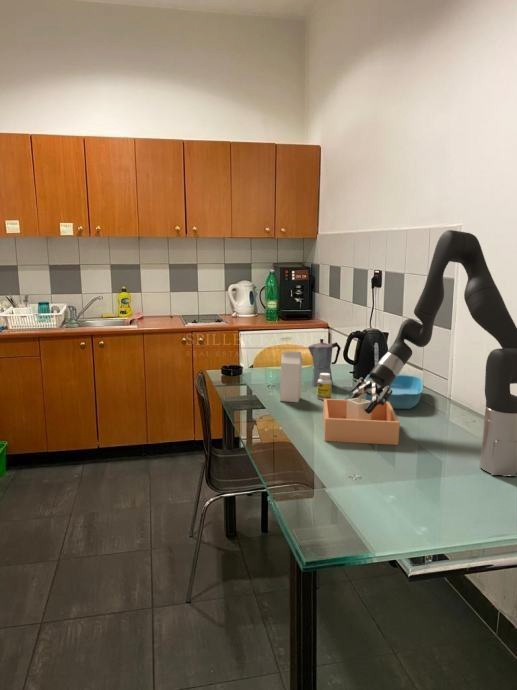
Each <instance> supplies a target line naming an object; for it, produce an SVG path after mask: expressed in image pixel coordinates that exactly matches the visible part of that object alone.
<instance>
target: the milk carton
mask: <svg viewBox="0 0 517 690" xmlns="http://www.w3.org/2000/svg"><path fill="white" fill-rule="evenodd" d="M302 368H303V358H302V351H297V350H296V351H294V350H282V355H281V359H280V376H279V377H280V380H279V381H280V382H279V385H280V386H279V402H289V403H299V401H300V399H301V395H302V392H301V391H302V370H303V369H302Z"/></svg>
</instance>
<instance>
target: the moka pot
mask: <svg viewBox="0 0 517 690" xmlns="http://www.w3.org/2000/svg"><path fill="white" fill-rule="evenodd" d="M333 348H334V349H335V348H337V350H336V355H335V359H334V361H333V362H332V356H333ZM307 349H308V350H309V352H310V355H311V357H312V362H313V364H312V365H313V369H312V379H311V385H312V386H314V387H316V386H317V387H318V380H319V379H320V373H329V374H330V378H329V379H330V380H331V381H332V385H333V384H334V382H333V375H332V370H331V365H335V364H337V362H338V359H339V355H340V351H341V346H340V344H338V342H334V343H333V342H330V343H325V342H324V339H322V338H320V339H319V343H318V342H317V343H313V344H311V345H309V346H308V347H307Z"/></svg>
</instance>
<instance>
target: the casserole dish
mask: <svg viewBox="0 0 517 690" xmlns="http://www.w3.org/2000/svg"><path fill="white" fill-rule="evenodd" d="M369 377H370V373H369V374H367V376H366V377H365V379H364V380H367V379H368V378H369ZM389 387H390V388H391V390H392V391H393V392H392V394H391V395H390V396H389V398H388V399H387V401H386V402H389V403H390V404H391V406H392V408H393V409H398V410H410V409H412V408H414V407H416V406H417V404H418V403H419V402H420V398H421V395H422V393H423V391H424V380H423V378H421V377H419V376H416V375H410V374H404V373H399V374H398V376H397V377H396V378H395V380H394V381H393V382H392V384H391V385H390V386H389ZM362 390H363V391H364V388H363V389H362ZM364 397H365V398H364V399H366V400H369V401H372V396H371V395H365V396H364ZM383 398H384V397H383ZM382 400H383V399H382Z"/></svg>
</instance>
